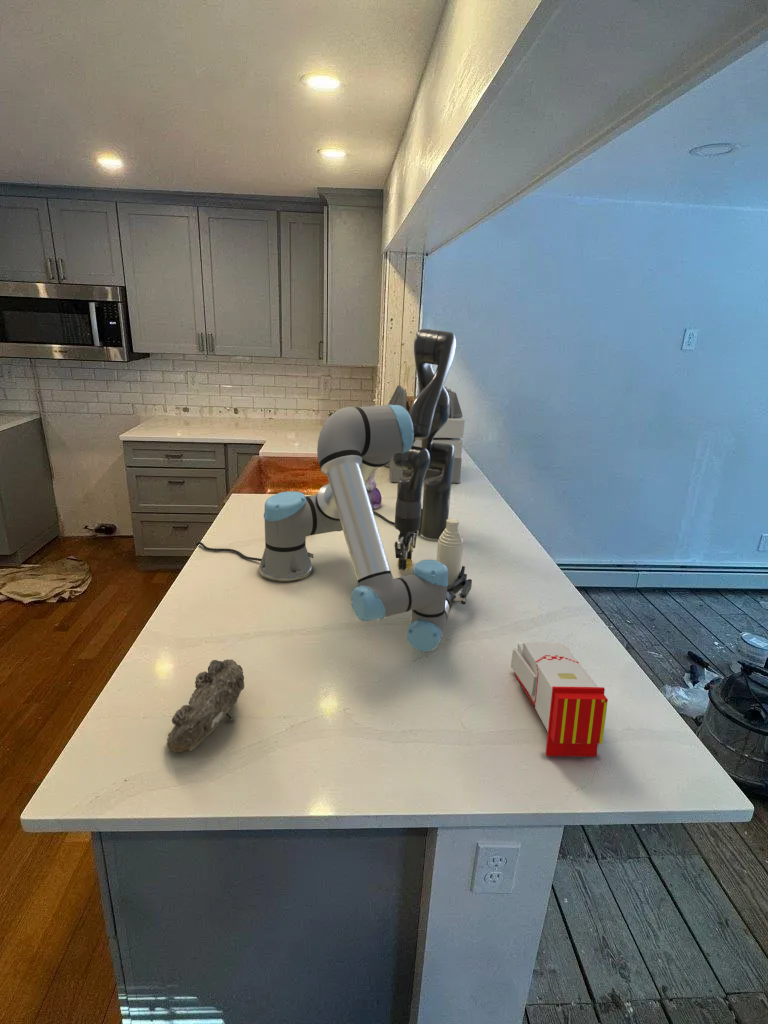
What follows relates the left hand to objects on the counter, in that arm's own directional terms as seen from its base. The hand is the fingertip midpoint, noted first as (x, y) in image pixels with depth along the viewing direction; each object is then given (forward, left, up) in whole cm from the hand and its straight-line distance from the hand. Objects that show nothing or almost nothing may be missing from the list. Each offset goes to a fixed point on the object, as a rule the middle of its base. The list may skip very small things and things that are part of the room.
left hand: (450, 568), depth 159 cm
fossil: (-34, -68, -7) cm, 76 cm away
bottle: (0, -5, -7) cm, 8 cm away
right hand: (-15, +7, -5) cm, 17 cm away
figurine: (-41, +60, -7) cm, 73 cm away
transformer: (-33, +116, -7) cm, 121 cm away
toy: (+28, -44, -7) cm, 52 cm away
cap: (-15, +7, -3) cm, 17 cm away
